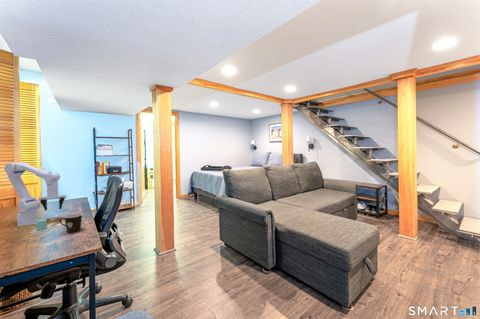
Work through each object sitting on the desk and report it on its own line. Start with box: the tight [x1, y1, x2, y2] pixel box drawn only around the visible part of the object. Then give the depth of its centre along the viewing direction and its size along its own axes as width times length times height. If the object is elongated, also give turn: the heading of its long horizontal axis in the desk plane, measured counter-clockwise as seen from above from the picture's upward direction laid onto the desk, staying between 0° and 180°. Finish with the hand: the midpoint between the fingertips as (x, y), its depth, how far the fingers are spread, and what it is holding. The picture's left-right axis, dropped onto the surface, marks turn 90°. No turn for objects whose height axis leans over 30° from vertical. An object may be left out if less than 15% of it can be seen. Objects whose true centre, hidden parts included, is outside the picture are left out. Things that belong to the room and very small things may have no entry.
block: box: [35, 218, 47, 231], centre depth 131 cm, size 4×4×6 cm
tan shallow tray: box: [46, 215, 66, 227], centre depth 142 cm, size 13×11×4 cm
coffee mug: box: [60, 213, 83, 234], centre depth 130 cm, size 12×9×10 cm
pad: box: [29, 226, 54, 234], centre depth 131 cm, size 9×9×1 cm
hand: (53, 209), depth 143 cm, fingers open, 7 cm apart
